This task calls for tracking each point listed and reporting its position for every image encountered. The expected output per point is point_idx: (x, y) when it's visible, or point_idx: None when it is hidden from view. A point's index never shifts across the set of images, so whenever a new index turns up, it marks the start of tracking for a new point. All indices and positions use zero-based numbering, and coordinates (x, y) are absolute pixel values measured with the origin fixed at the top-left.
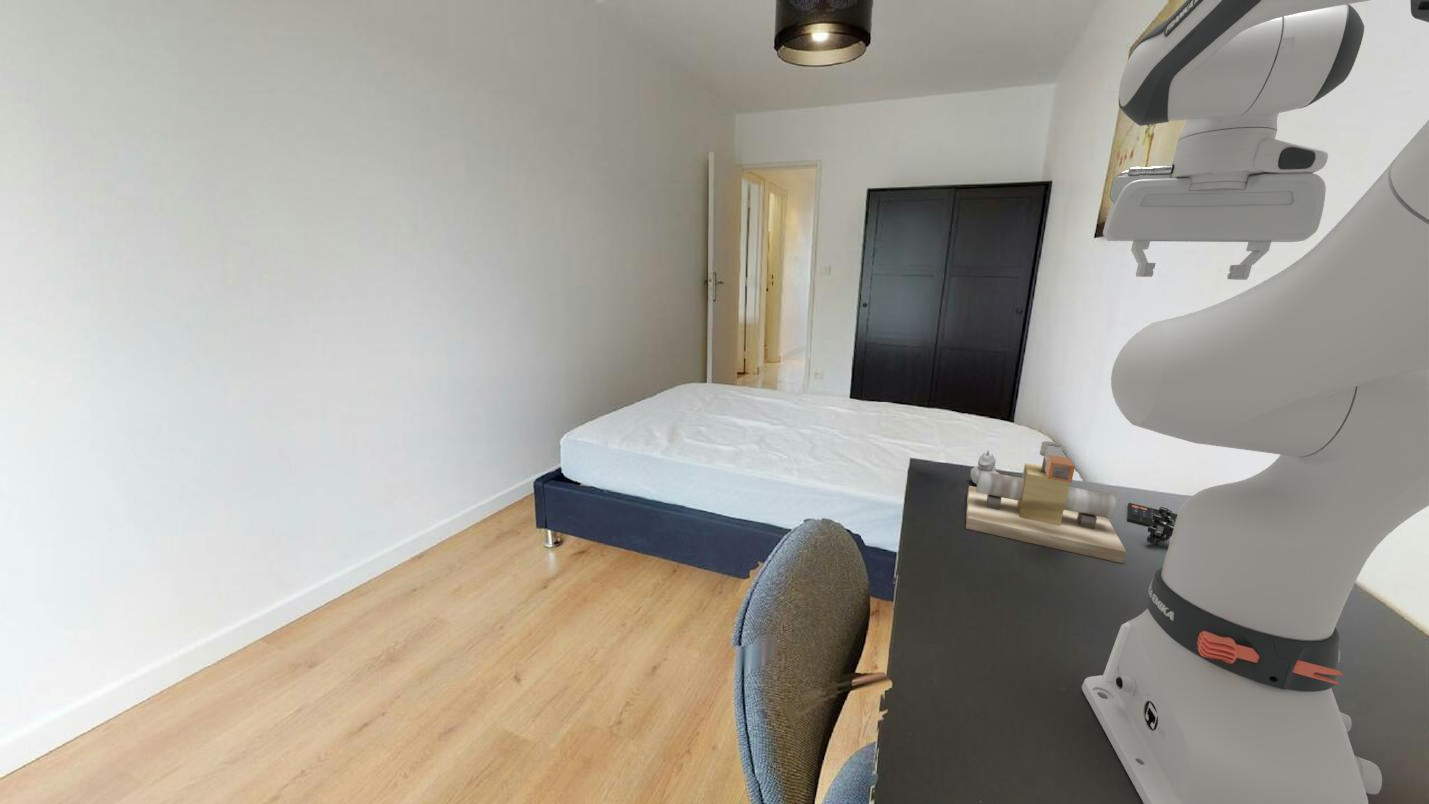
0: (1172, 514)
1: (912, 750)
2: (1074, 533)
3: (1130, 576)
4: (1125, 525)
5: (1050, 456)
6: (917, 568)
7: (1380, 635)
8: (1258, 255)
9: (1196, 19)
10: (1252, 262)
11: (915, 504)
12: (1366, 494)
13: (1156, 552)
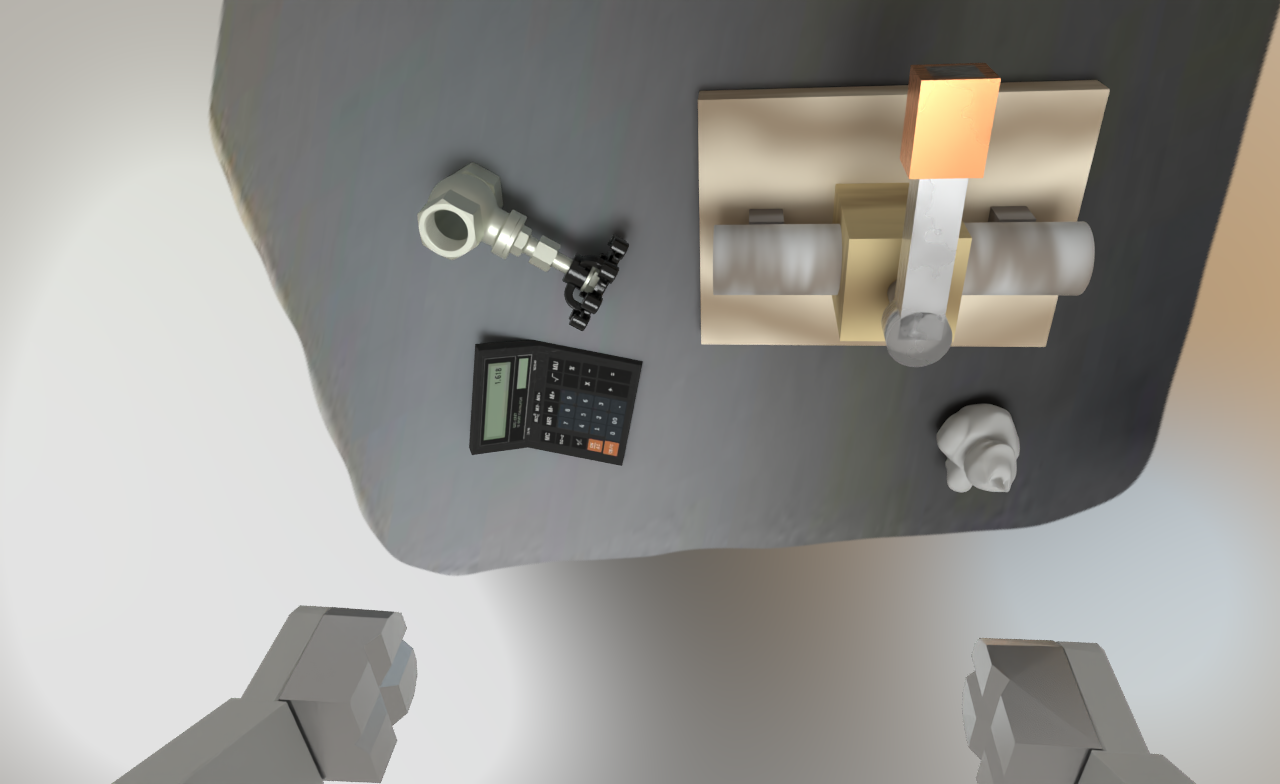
0: (540, 441)
1: None
2: (807, 149)
3: (697, 19)
4: (650, 335)
5: (980, 158)
6: None
7: (269, 28)
8: (165, 775)
9: None
10: (231, 717)
11: (1230, 179)
12: None
13: (610, 209)
